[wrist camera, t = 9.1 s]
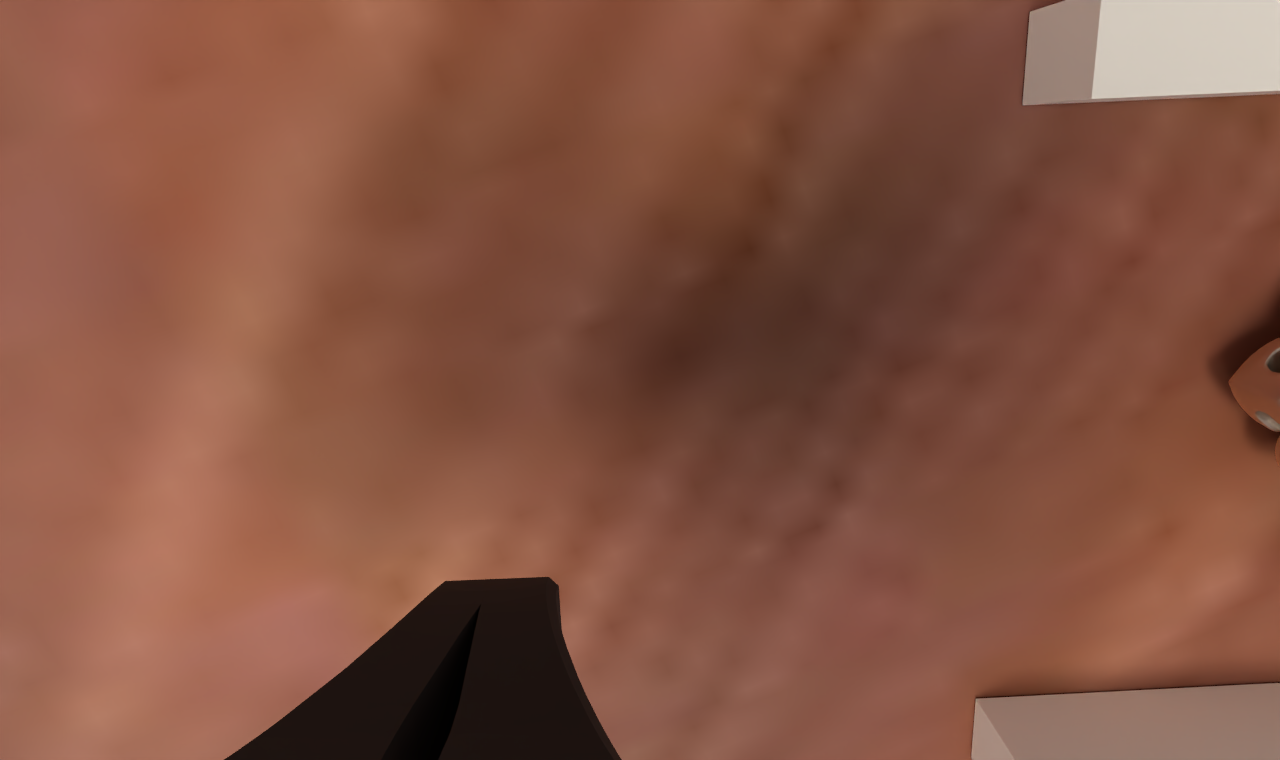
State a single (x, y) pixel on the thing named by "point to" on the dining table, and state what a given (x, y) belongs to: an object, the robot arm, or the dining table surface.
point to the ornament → (1261, 387)
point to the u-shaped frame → (1125, 71)
